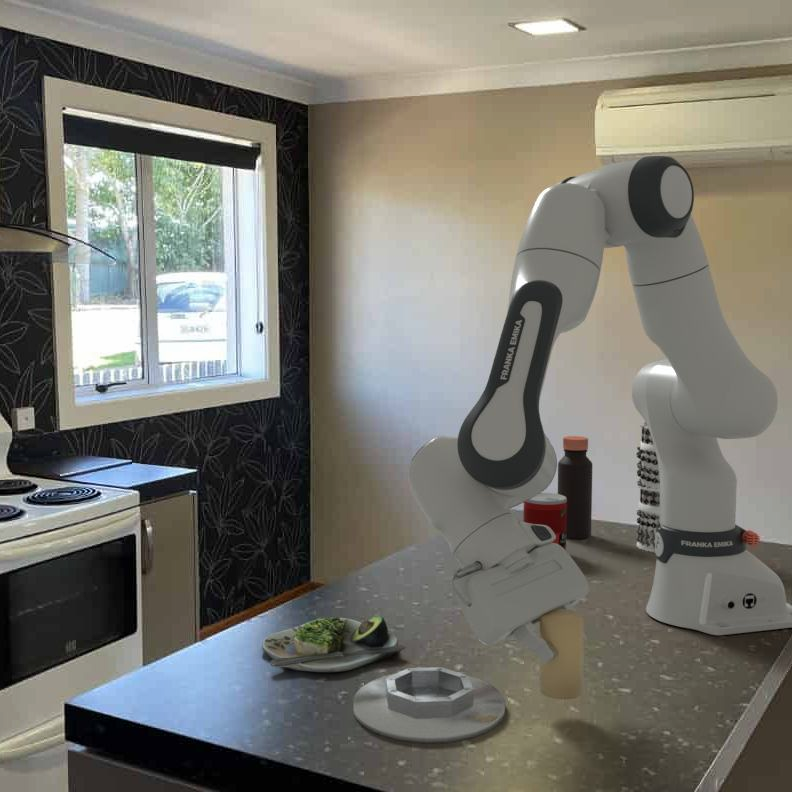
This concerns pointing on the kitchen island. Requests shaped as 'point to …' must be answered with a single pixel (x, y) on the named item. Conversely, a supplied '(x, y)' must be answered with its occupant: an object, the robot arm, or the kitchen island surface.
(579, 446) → the bottle
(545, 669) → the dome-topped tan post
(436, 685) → the collar
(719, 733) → the kitchen island surface
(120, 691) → the kitchen island surface
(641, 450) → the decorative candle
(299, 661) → the salad plate
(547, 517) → the canned food
